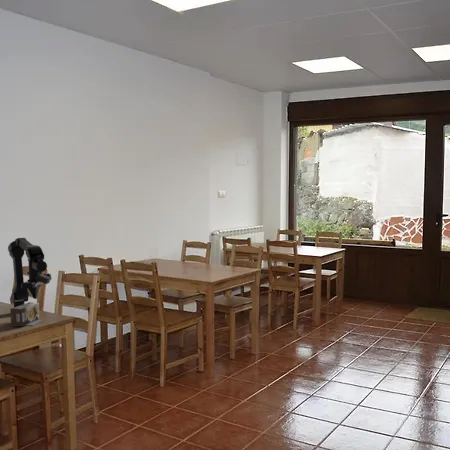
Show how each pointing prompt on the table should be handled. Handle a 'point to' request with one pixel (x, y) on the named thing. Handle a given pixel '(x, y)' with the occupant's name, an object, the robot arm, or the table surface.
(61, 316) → the table surface
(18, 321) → the coffee box
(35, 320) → the mat
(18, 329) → the table surface
